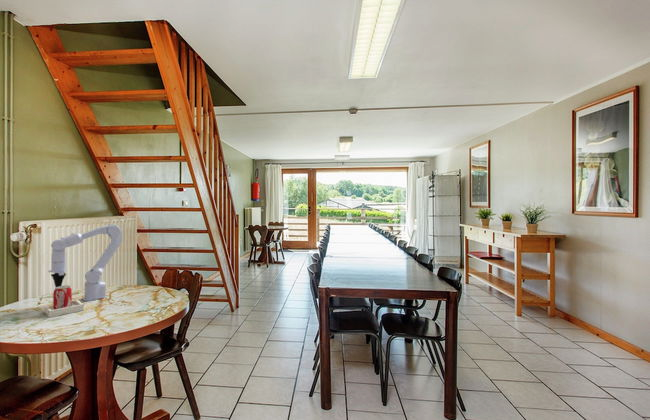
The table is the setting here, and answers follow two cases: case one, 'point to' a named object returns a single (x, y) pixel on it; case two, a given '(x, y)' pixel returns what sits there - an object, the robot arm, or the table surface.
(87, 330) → the table surface
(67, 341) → the table surface
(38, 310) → the table surface
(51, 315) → the frame
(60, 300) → the soda can
